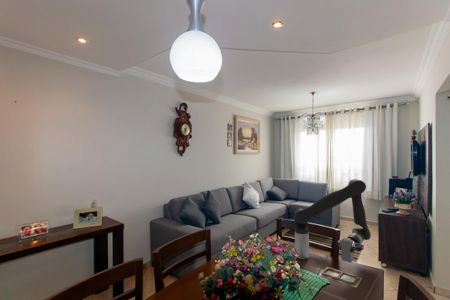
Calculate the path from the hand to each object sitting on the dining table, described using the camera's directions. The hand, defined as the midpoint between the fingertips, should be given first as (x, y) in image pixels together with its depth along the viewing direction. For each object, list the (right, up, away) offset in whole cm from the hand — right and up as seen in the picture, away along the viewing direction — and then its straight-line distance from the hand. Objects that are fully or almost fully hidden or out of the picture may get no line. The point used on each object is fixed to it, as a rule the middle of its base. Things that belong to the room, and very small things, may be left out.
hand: (345, 249), depth 130 cm
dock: (-1, -18, +4) cm, 19 cm away
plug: (+2, -7, +2) cm, 7 cm away
